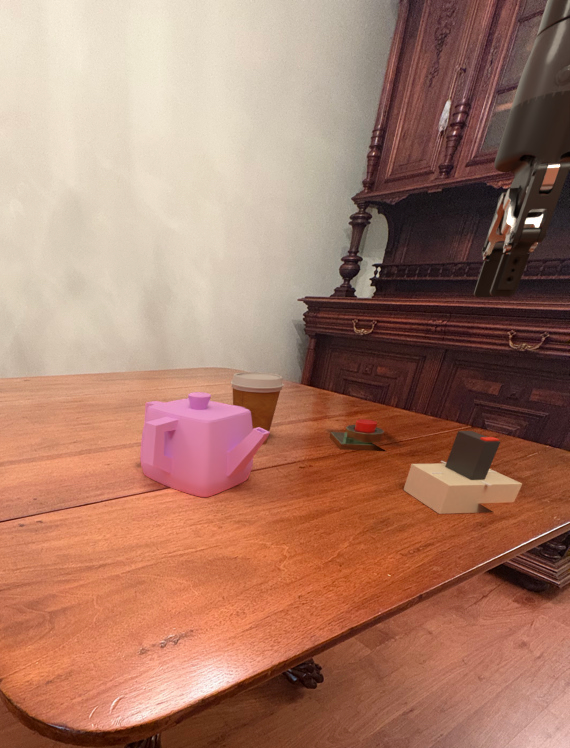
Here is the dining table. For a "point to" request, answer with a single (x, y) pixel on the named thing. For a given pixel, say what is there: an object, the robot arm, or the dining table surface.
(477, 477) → the switch lever
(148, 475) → the teakettle
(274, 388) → the disposable coffee cup
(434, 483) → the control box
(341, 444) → the switch block
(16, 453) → the dining table surface
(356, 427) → the power button
